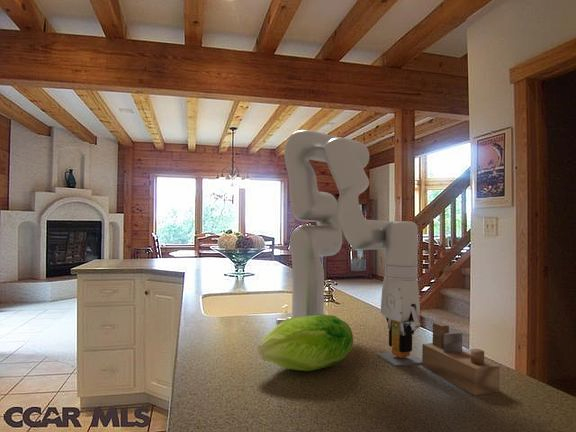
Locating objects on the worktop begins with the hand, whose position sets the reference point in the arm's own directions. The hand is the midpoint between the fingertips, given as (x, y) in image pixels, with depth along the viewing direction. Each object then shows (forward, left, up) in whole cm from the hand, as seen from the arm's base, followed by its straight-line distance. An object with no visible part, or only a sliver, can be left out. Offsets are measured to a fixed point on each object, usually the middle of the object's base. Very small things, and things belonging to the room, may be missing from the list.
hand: (400, 347), depth 95 cm
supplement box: (0, 0, -2) cm, 2 cm away
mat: (0, 0, -3) cm, 3 cm away
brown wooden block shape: (+6, -13, -3) cm, 14 cm away
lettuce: (-24, 0, -3) cm, 24 cm away
